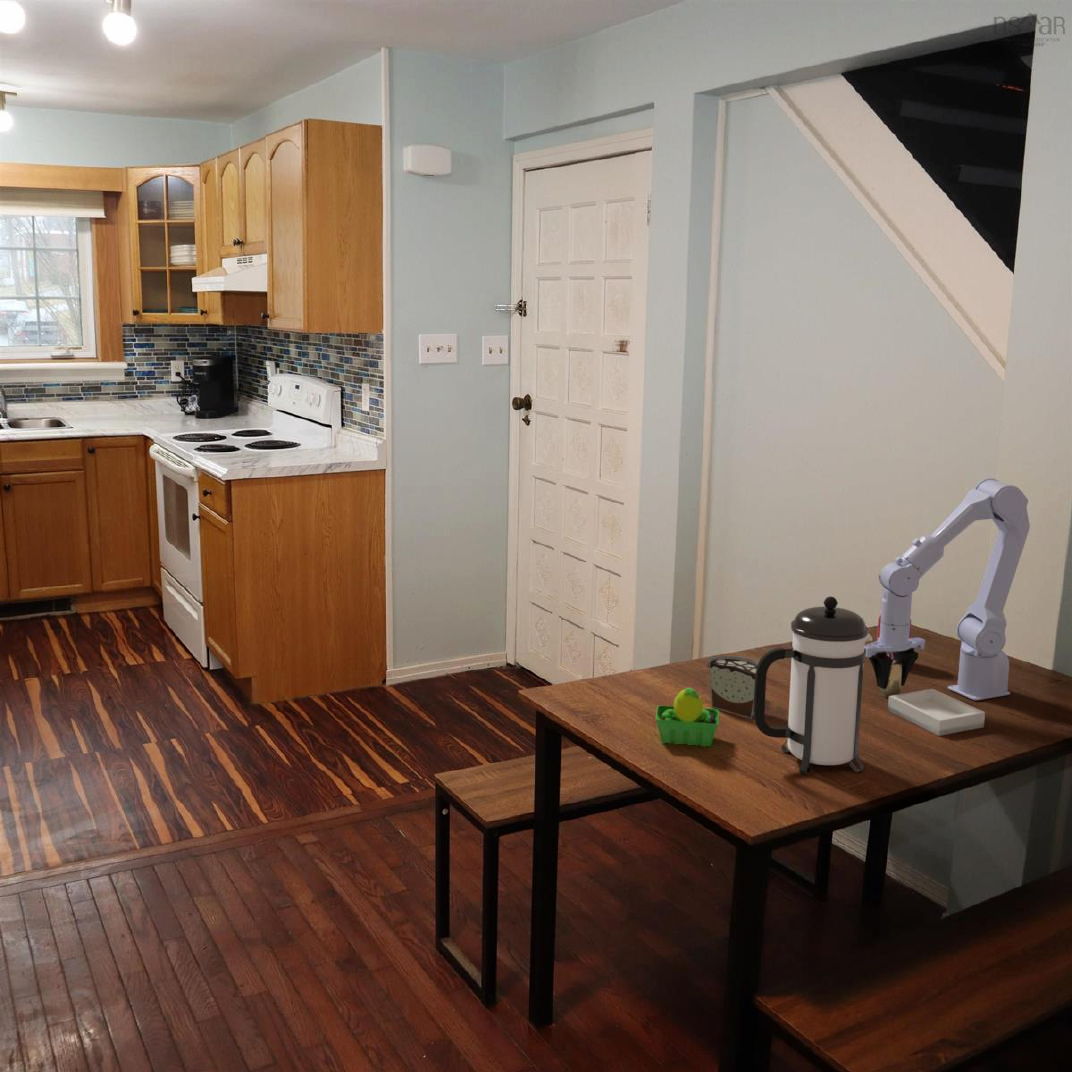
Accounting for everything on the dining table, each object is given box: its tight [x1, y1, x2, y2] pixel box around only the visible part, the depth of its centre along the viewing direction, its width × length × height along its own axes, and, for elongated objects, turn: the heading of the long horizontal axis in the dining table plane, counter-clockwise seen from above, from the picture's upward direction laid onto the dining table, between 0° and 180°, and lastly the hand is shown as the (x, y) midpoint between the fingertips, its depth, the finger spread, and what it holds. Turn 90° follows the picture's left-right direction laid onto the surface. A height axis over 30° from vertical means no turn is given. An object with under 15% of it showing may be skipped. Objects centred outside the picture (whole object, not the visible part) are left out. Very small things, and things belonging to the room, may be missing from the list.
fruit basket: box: [654, 687, 720, 747], centre depth 201 cm, size 11×9×11 cm
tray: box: [887, 688, 986, 737], centre depth 212 cm, size 11×14×3 cm
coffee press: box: [753, 596, 873, 776], centre depth 189 cm, size 17×16×30 cm
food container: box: [706, 655, 759, 720], centre depth 217 cm, size 12×6×10 cm, turn 47°
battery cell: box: [879, 658, 903, 699], centre depth 225 cm, size 4×4×8 cm
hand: (890, 685), depth 225 cm, fingers closed on battery cell, 4 cm apart
